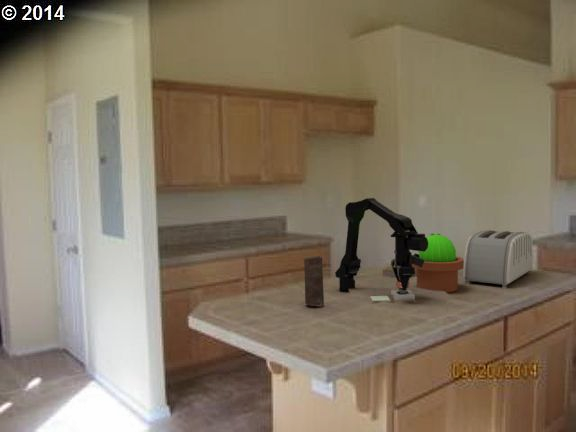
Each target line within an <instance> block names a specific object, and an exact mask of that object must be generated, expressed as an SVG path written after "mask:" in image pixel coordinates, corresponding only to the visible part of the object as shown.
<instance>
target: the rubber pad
mask: <svg viewBox="0 0 576 432" xmlns="http://www.w3.org/2000/svg"><path fill="white" fill-rule="evenodd" d="M370 298H371V299H372V301H390V299H389V298H388V296H370Z"/></svg>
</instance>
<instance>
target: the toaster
mask: <svg viewBox="0 0 576 432" xmlns="http://www.w3.org/2000/svg"><path fill="white" fill-rule="evenodd" d="M465 245H466V246H465V251H464V258H463V260H464V263H463V271H462V273H463V274H462V275H463V279H464V280H465V284H466V285H471V283H472V282H478V283H484V284H485V283H488V284H494V285H495V284H496V285H502V286H501V288H502V289H507V288H508V287H507V286H508V285H509V284H510V283H512V282H515V280H518V279H519V278H520V277H523V276H524V275H525V274H528V275H529V274H531V270H533V267H534V266H533V264H534V263H533V262H534V261H533V260H534V257H533V243H532V236H531V235H530V234H529V233H528V232H526V231H516V232H511V231H509V230H501V231H495V230H491V229H486V230H480V231H478V232H476V233H473V234H472V235H470V236H469V237H468V239H467V240H466V243H465Z"/></svg>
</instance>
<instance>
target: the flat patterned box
mask: <svg viewBox="0 0 576 432" xmlns="http://www.w3.org/2000/svg"><path fill="white" fill-rule="evenodd" d="M393 267H394V266H393ZM380 271H382V276H383V277H389V278H395V279H396V276H395V274H394V272H393V269H392V266H388V267H386V268H385V267H384V268H382V269H380ZM415 276H416V277H417V269H415V274H414V275H413V276H411V277H410V278H412V277H415Z"/></svg>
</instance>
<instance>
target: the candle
mask: <svg viewBox="0 0 576 432" xmlns="http://www.w3.org/2000/svg"><path fill="white" fill-rule="evenodd" d="M303 264H304V266H303V267H304V300H305V305H307V306H309V307H321V308H322V307H324V305H325V298H324V297H325V296H324V295H325V294H324V275H323V274H324V272H323V270H324V269H323V268H324V267H323V256H321V255H310V256H308V257H304V258H303Z"/></svg>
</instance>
